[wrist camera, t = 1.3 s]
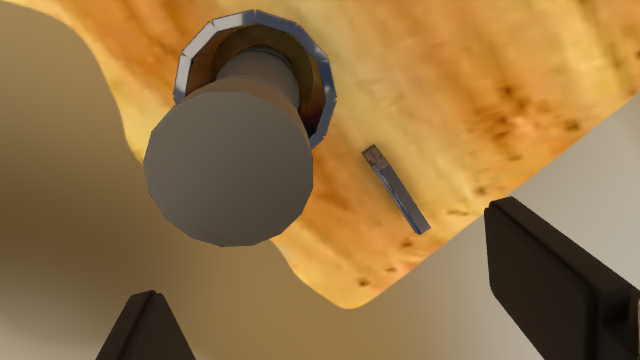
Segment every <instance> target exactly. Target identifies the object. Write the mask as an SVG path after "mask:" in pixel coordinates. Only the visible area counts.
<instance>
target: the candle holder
mask: <svg viewBox="0 0 640 360" xmlns="http://www.w3.org/2000/svg"><path fill="white" fill-rule="evenodd" d="M298 107H299V86H298V84H297V81H296V74H295V71H294V69H293V67H292V64H291V62H290V60H289V59H288V58H287V57H286V56H285V55H284V54H283V53H282V52H281V51H280V50H278V49H276V48H273V47H271V46H269V45H253V46H251V47H249V48H247V49H244V50H242V51H241V52H239V53H238V54H237V55H236V56H235V57H234V58H231V59H229V60H228V62H227V63H226V64H225V65H224V66H223V67H222V68H221V70H220V71H219V72H218V73H217V77H216V80H215V82H212V83H210V84H208V85H206V86H204V87H201V88H199V89H197V90H195V91H193V92H192V93H190V94H189V95H188V96H186V97H185V98H184V99H183V100H181V101H180V102H179V103H177V104H176V105H175V106H173V107H172V109H171V110H170V111H169V112H168V113H167V114H166V115H165V117H164V118H163V119H162V120H161V121H160V122H159V123H158V125H157V126H156V127H155V128H154V129H153V130H152V132H151V135H150V139H149V143H148V146H147V150H146V154H145V157H144V161H143V164H144V169H145V175H146V180H147V186H148V192H149V194H150V196H151V197H152V199H153V200H154V202H155V203H156V205H157V206H158V208H159V209H160V211H161V212H162V214H163V216H164V217H165V218H166V220H167V221H169V222H170V223H172V224H173V225H175V226H176V227H177V228H179V229H180V230H181V231H183V232H184V233H186V234H187V235H188V236H190V237H191V238H194V239H197V240H200V241H204V242H207V243H210V244H214V245H218V246H221V247H229V246H251V245H255V244H257V243H260V242H262V241H265V240H267V239H270V238H272V237H274V236H277V235H279V234H281V233H282V232H283V231H284V230H285V229H286V228H287V227H288V226H289V225H290V224H291V223H293V222H294V221H295V220H296V219H297V218H298V217H299V216H300V215H301V214H302V212H303V209H304V207H305V205H306V202H307V200H308V198H309V196H310V193H311V191H312V189H313V156H312V151H311V147H310V143H309V139H308V135H307V132H306V130H305V128H304V125H303V123H302V121H301V118H300V116H299V114H298V112H297V110H298Z"/></svg>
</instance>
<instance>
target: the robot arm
mask: <svg viewBox="0 0 640 360" xmlns="http://www.w3.org/2000/svg"><path fill="white" fill-rule="evenodd" d="M484 219H485V231H486V244H487V256H488V268H489V280H490V287H491V290H492V292H493V294H494V296H495V297H496V299H497V300H498V301H499V302H500V304H501V305H502V306H503V307H504V309H505V310H506V311H507V313H508V314H509V315H510V316H511V318H512V319H513V320H514V322H515V323H516V324H517V325H518V326H519V328H520V329H521V330H522V332H523V333H524V334H525V335H526V337H527V338H528V339H529V341H530V342H531V343H532V344H533V346H534V347H535V348H536V349H537V351H538V352H539V353H540V355H541V356H542V357H543V358H544V360H640V291H639V290H638V289H637V288H636V287H634V286H633V285H632V284H630V283H629V282H628V281H626V280H625V279H623V278H622V277H621V276H619V275H618V274H617V273H615V272H614V271H613V270H611V269H610V268H609V267H607V266H606V265H604V264H603V263H602V262H601V261H599V260H598V259H596V258H595V257H594V256H592V255H591V254H590V253H588V252H587V251H586V250H584V249H583V248H582V247H580V246H579V245H577V244H576V243H575V242H573V241H572V240H571V239H569V238H568V237H567V236H565V235H564V234H563V233H561V232H560V231H558V230H557V229H556V228H554V227H553V226H552V225H550V224H549V223H548V222H546V221H545V220H544V219H542V218H541V217H540V216H538V215H537V214H536V213H534V212H533V211H532V210H530V209H529V208H527V207H526V206H525V205H523V204H522V203H521V202H519V201H518V200H517V199H515V198H514V197H512V196H511V197H506V198H502V199H498V200H494V201H491V202H490V204H489V207H488V208H485V210H484ZM96 360H196V359H195V357H194V355H193V353H192V351H191V349H190V347H189V345H188V343H187V341H186V339H185V337H184V335H183V333H182V331H181V329H180V327H179V325H178V323H177V321H176V319H175V317H174V315H173V313H172V311H171V309H170V307H169V305H168V303H167V301H166V299H165V297H164V296H163V295H162V294H161V293H159V294H157V293H156V292H155V291H154V290H150V291H146V292H142V293H139V294H135V295H132V296H131V297H130V298H129V299H128V302H127V303H126V305H125V307H124V309H123V310H122V312H121V314H120V316H119V318H118V319H117V321H116V323H115V325H114V327H113V329H112V330H111V332H110V334H109V336H108V338H107V339H106V341H105V343H104V345H103V347H102V349H101V350H100V352H99V354H98V356H97V358H96Z"/></svg>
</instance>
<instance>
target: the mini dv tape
mask: <svg viewBox="0 0 640 360" xmlns="http://www.w3.org/2000/svg"><path fill="white" fill-rule="evenodd" d="M362 154H363V155H364V157H365V158H366V160H367V161H368V163H369V164H370V166H371V167H372V169H373V170H374V172H375V173H376V175H377V176H378V178H379V179H380V181H381V182H382V184H383V185H384V187H385V188H386V190H387V191H388V193H389V194H390V196H391V197H392V199H393V200H394V202H395V203H396V205H397V206H398V208H399V209H400V210H401V212H402V213H403V215H404V216H405V218H406V219H407V221H408V222H409V224H410V225H411V227H412V228H413V230H414V231H415V232H416V233H417V234H419V235H421V234H422V233H424V232H426V231H427V230H429V229H430V228H431V227H430V226H429V224H428V223H427V221H426V219H425V218H424V216H423V215H422V213H421V212H420V210H419V209H418V207H417V206H416V204H415V202H414V201H413V199H412V198H411V196H410V195H409V193H408V192H407V190H406V189H405V187H404V185H403V184H402V182H401V181H400V179H399V178H398V176H397V175H396V173H395V172H394V170H393V169H392V167H391V165H390V164H389V163H388V161H387V160H386V159H385V157H384V156H383V155H382V154H381V152H380V151H379V150H378V148H377V147H376V146H375V145H373V146H371V147H370V148H368V149H367V150H365V151H364V152H362Z"/></svg>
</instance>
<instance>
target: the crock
mask: <svg viewBox="0 0 640 360" xmlns="http://www.w3.org/2000/svg"><path fill="white" fill-rule="evenodd" d="M257 24H261V25H264V26H267V27H270V28H273V29H276V30H279V31H282V32H285V33H288V34H291V35H292V36H293V37H294V38H295V39H296V41H297V42H298V43H299V44H300V45H301V46H302V47H303V48H304V49H305V51H306V52H307V53H308V55H309V59H310V64H311V68H312V72H313V77H314V84H313V87H312V91H311V94H310V98H309V101H308V104H307V107H306V108H305V109H303V110H302V111H301V112H300V113H299V116H300V118H301V121H302V123H303V125H304V128H305V130H306V132H307V135H308V139H309V143H310V147H311V150H312V149H313V148H315V147H316V146H317V145H318V144H319V143H320V142H321V141H322V140H323V139H324V137H323V136H326V133H327V130H328V127H329V124H330V120H331V117H332V114H333V111H334V108H335V105H336V102H337V101H336V98H337V96H336V91H335V86H334V81H333V77H332V72H331V67H330V62H329V59H328V58H327V55H326V54H325V53H324V52H323V51H322V49H321V48H320V47H319V46H318V45H317V44H316V43H315V41H314V40H313V39H312V38H311V37H310V36H309V35H308V33H307V32H306V31H305V30H304V29H303V28H302V27H301V26H300V25H297V23H296V22H293V21H290V20H287V19H284V18H281V17H278V16H275V15H272V14H269V13H266V12H263V11H260V10H256V11H255V10H253V9H252V10H248V11H244V12H240V13H236V14H232V15H228V16H224V17H220V18H216V19H212V21H209V22H208V23H207V24H206V25H205V26H204V27H203V28H202V30H201V31H200V32H199V33H198V34H197V35H196V36H195V37H194V38H193V39H192V40H191V42H190V43H189V44H188V45H187V46H186V47H185V48H184V49H183V50H182V53H183V54H180V57H179V63H178V69H177V74H176V80H175V86H174V92H173V95H175V97H174V101H175V103H176V104H177V103H179V102H180V101H181V100H183V99H184V98H185V97H186V96H188V95H189V94H190V93H192V92H193V91H195V90H197V89H199V88H201V87H204V86H206V85H208V84H210V83H211V81H210V73H211V68H212V63H213V58H214V53H215V50H216V49H217V48H218V47H219V46H220V45H221V44H222V43H223V42H224V41H225V39H226V38H227V37H228V36H229V35H230V34H231V33H232V32H233V31H234V30H237V29H241V28H245V27H249V26H253V25H257Z"/></svg>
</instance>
